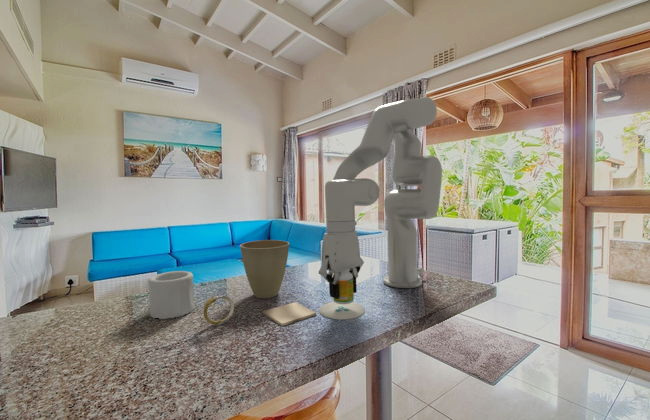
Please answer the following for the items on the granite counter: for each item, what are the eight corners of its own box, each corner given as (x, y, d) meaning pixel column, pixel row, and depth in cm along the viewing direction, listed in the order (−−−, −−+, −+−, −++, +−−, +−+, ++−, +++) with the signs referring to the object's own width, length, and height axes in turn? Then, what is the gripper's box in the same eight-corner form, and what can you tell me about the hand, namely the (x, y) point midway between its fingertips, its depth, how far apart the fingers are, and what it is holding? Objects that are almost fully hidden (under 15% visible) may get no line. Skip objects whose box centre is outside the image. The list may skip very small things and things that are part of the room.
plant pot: (242, 305, 86) (240, 249, 85) (241, 289, 100) (239, 241, 99) (295, 299, 90) (293, 245, 89) (286, 284, 104) (285, 238, 103)
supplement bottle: (352, 305, 78) (351, 268, 77) (331, 304, 79) (330, 267, 78) (354, 297, 83) (353, 262, 83) (335, 297, 84) (334, 262, 84)
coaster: (343, 298, 89) (343, 298, 89) (374, 310, 80) (374, 309, 80) (310, 309, 82) (310, 308, 82) (339, 323, 72) (339, 322, 72)
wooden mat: (295, 304, 86) (294, 302, 86) (316, 314, 78) (316, 312, 78) (262, 313, 80) (262, 311, 80) (282, 326, 72) (282, 323, 72)
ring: (204, 330, 71) (202, 296, 70) (203, 324, 74) (202, 292, 73) (235, 324, 74) (234, 291, 73) (233, 319, 77) (232, 288, 76)
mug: (201, 310, 83) (199, 274, 82) (158, 324, 75) (156, 284, 74) (181, 299, 92) (179, 267, 91) (141, 310, 84) (138, 274, 84)
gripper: (354, 222, 88) (356, 284, 89) (305, 229, 77) (309, 299, 79) (373, 224, 82) (375, 290, 84) (324, 232, 72) (327, 307, 73)
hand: (343, 293), depth 81 cm, fingers closed on supplement bottle, 5 cm apart
